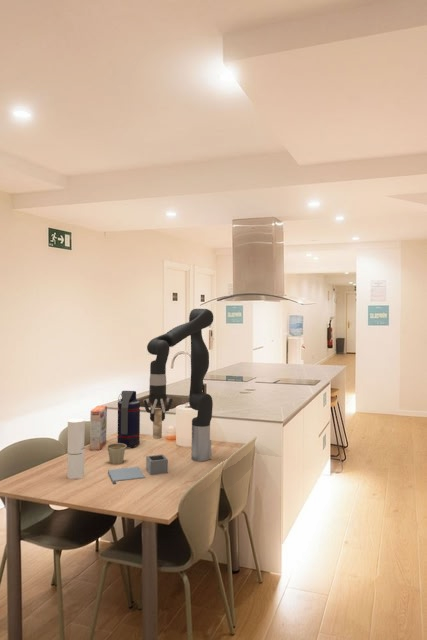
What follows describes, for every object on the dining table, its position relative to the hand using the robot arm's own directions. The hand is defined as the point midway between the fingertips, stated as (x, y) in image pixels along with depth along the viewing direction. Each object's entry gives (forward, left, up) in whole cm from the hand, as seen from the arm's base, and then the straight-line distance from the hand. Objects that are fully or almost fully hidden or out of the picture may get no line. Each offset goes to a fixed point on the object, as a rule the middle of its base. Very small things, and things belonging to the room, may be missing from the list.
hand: (157, 420), depth 217 cm
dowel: (0, 0, -8) cm, 8 cm away
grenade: (+4, -46, -24) cm, 52 cm away
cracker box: (+19, -50, -24) cm, 59 cm away
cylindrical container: (+35, -8, -24) cm, 43 cm away
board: (+14, 0, -24) cm, 28 cm away
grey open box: (0, 0, -24) cm, 24 cm away
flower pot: (+15, -19, -24) cm, 34 cm away
